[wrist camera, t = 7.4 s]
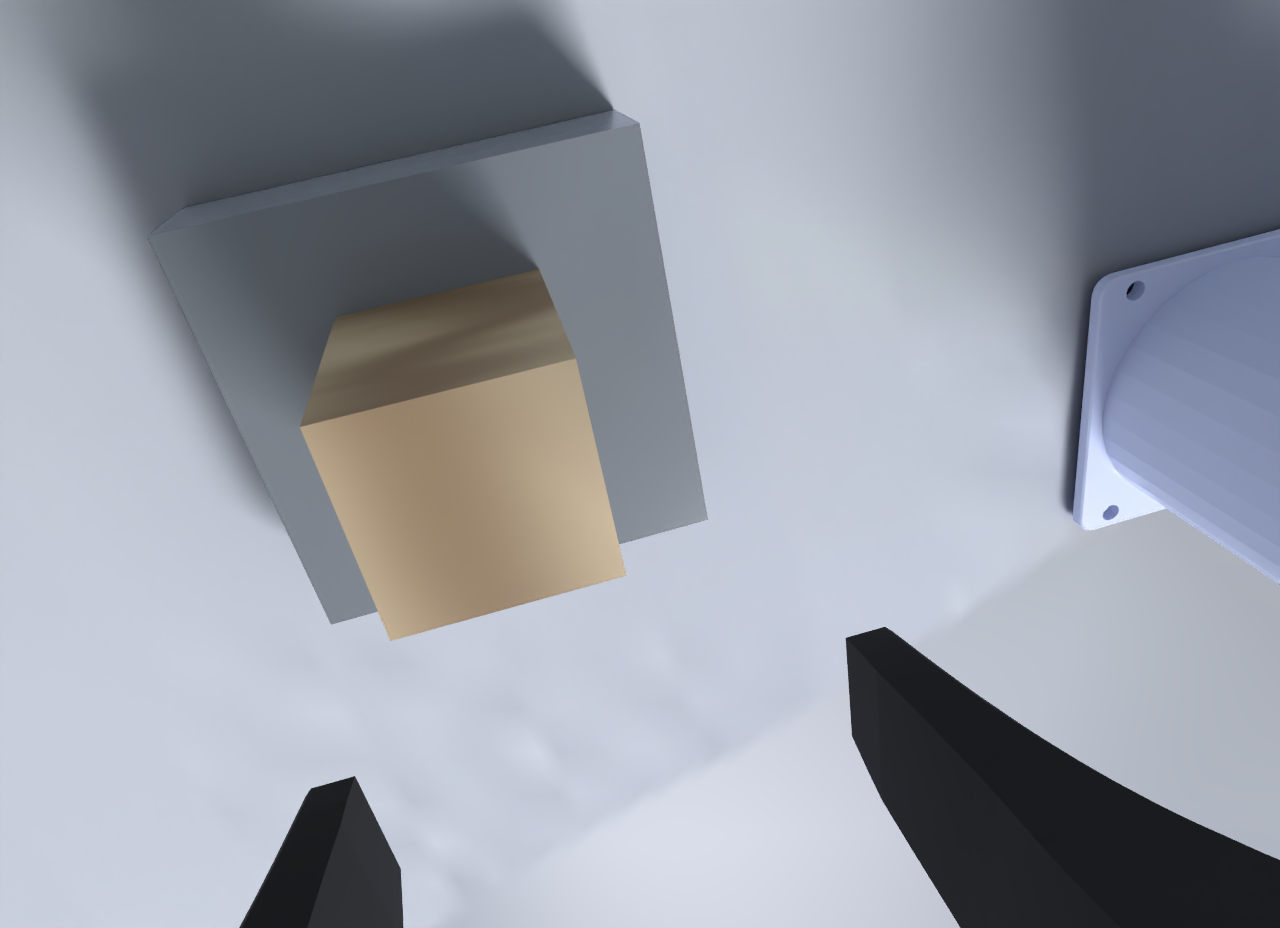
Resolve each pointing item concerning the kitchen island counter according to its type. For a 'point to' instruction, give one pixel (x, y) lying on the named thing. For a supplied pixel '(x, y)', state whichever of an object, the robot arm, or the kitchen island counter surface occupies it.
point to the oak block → (461, 454)
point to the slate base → (432, 263)
